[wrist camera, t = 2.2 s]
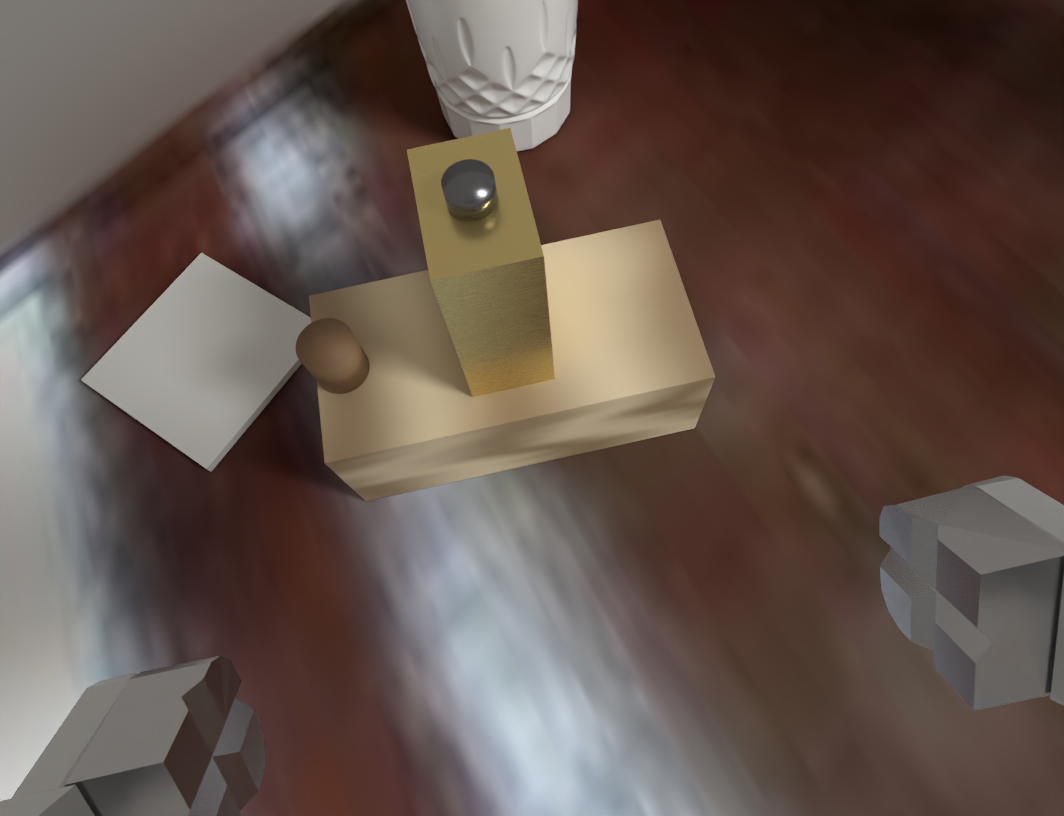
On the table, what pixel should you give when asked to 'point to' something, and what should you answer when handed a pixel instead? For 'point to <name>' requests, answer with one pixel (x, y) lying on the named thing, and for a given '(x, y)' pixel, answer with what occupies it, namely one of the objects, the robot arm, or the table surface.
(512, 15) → the white cup
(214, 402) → the mat
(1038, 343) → the table surface
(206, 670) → the robot arm
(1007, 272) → the table surface
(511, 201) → the brass knob block
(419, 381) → the body
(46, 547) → the table surface
